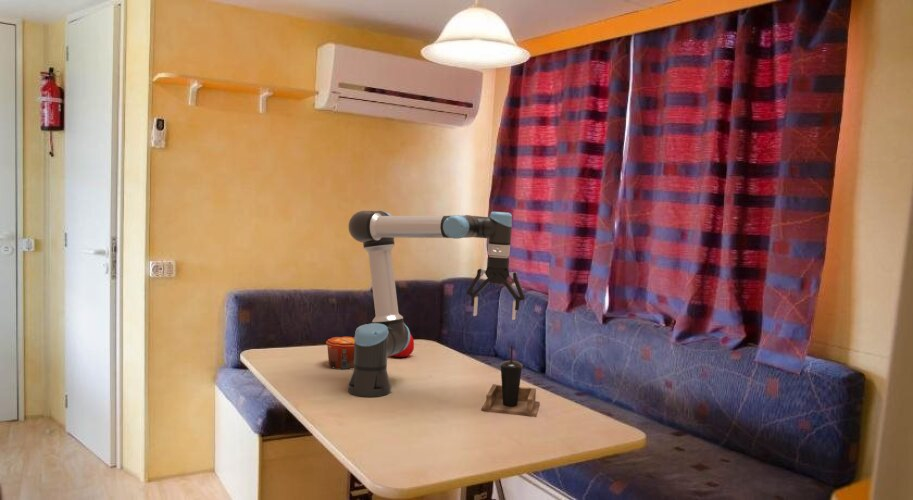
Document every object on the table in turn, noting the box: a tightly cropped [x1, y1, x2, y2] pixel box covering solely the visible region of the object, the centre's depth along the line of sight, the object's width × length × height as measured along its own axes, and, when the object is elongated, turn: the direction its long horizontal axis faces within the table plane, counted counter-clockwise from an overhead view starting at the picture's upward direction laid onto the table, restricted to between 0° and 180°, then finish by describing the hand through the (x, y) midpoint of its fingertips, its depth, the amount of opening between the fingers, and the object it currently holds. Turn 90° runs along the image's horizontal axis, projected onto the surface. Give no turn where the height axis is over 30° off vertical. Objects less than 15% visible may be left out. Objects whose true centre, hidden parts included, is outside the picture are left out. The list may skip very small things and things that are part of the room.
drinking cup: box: [499, 345, 524, 406], centre depth 219 cm, size 8×8×20 cm
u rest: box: [480, 383, 541, 417], centre depth 219 cm, size 18×14×6 cm
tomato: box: [390, 333, 415, 358], centre depth 287 cm, size 12×13×12 cm
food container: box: [325, 336, 355, 370], centre depth 267 cm, size 16×16×11 cm
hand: (494, 317), depth 226 cm, fingers open, 13 cm apart
